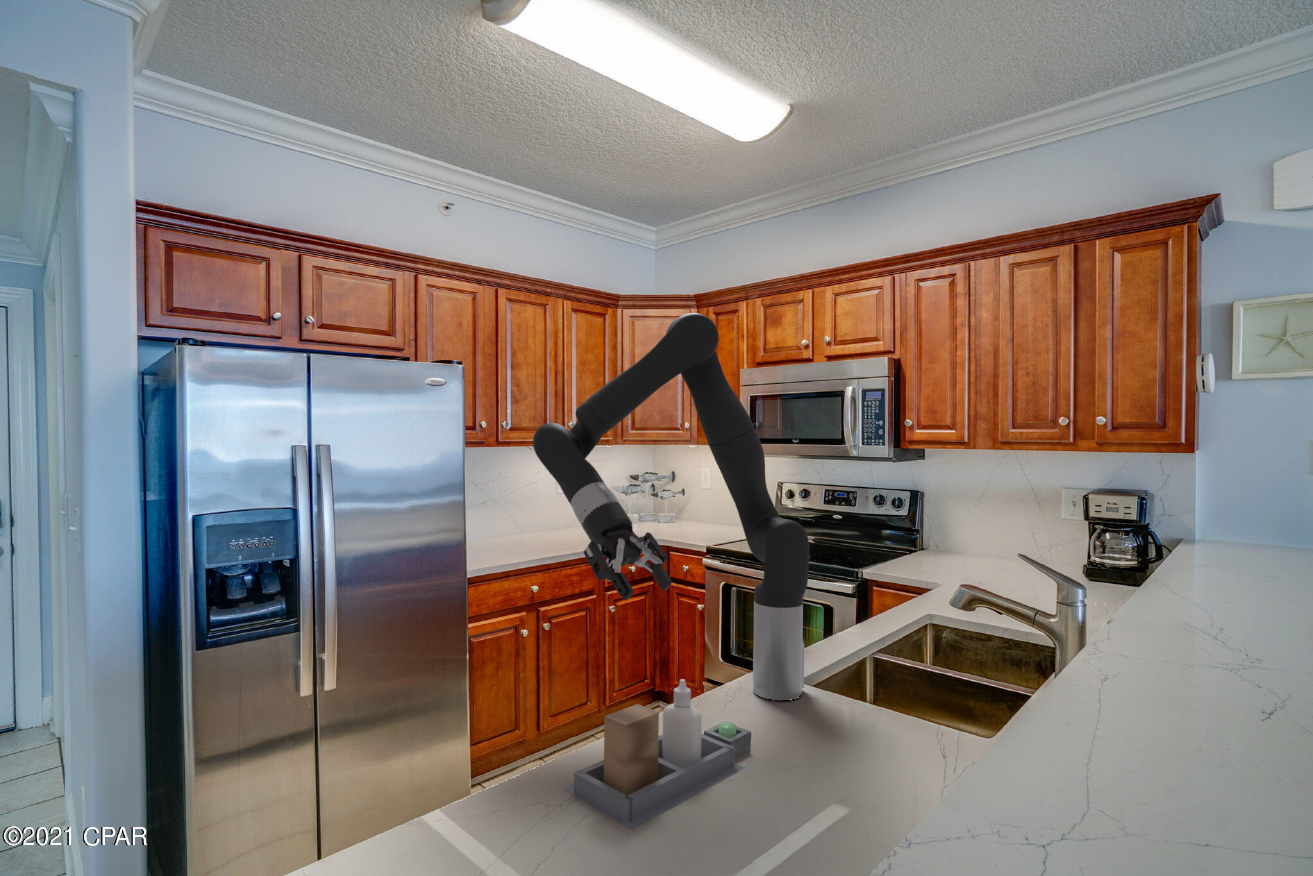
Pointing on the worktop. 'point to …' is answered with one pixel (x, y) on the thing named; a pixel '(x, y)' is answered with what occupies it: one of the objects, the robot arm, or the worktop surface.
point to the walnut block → (631, 749)
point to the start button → (727, 729)
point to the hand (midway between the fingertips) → (649, 591)
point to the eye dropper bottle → (681, 729)
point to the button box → (733, 739)
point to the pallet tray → (656, 784)
